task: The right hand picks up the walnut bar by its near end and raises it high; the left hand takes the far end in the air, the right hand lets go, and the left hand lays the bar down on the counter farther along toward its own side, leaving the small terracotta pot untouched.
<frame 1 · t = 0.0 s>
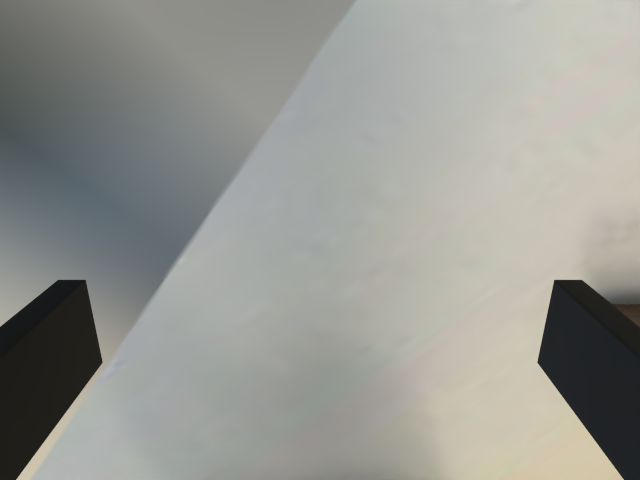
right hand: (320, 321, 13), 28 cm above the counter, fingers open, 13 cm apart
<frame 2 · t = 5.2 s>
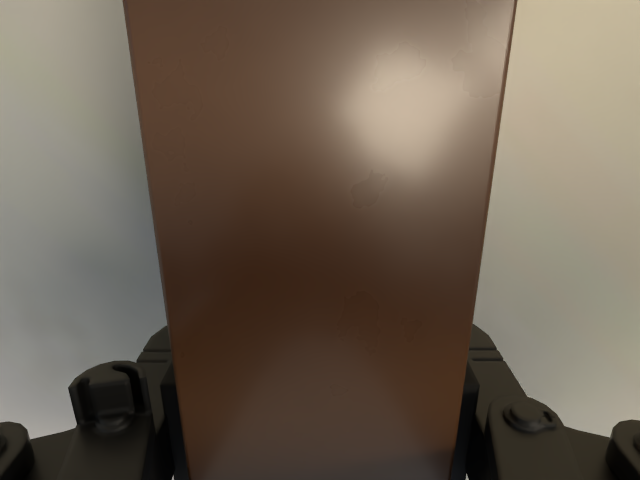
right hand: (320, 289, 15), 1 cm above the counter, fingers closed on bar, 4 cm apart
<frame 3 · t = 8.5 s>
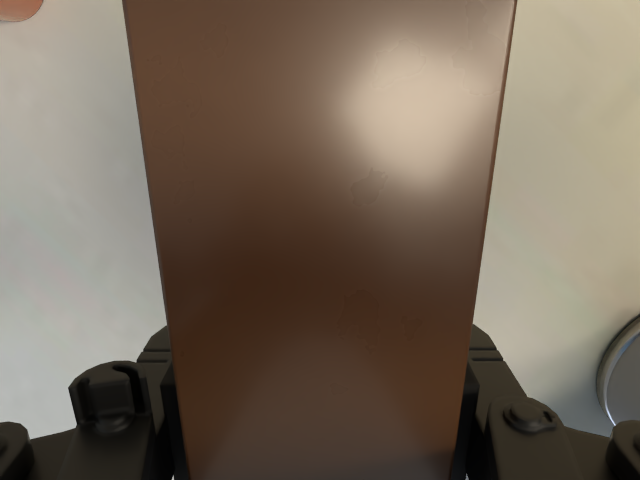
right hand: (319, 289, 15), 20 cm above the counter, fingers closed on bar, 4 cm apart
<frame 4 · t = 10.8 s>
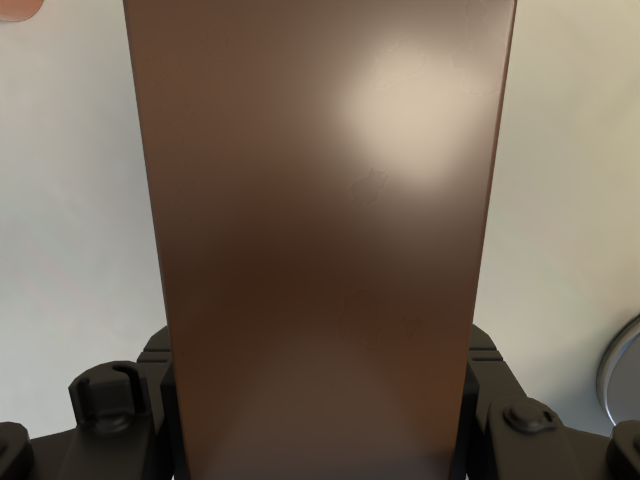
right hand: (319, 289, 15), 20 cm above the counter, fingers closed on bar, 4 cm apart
when the right hand's fingers open (20 cm above the counter, at t = 11.6 s): bar stays where it is, held by the left hand.
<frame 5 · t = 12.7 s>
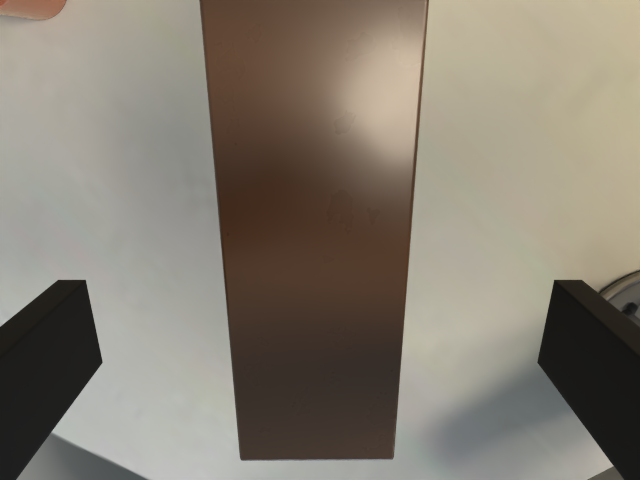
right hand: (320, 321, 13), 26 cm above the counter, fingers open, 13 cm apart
when the left hand's fingers open (5 cm above the counter, at t = 21.9 s): bar stays where it is, on the counter.
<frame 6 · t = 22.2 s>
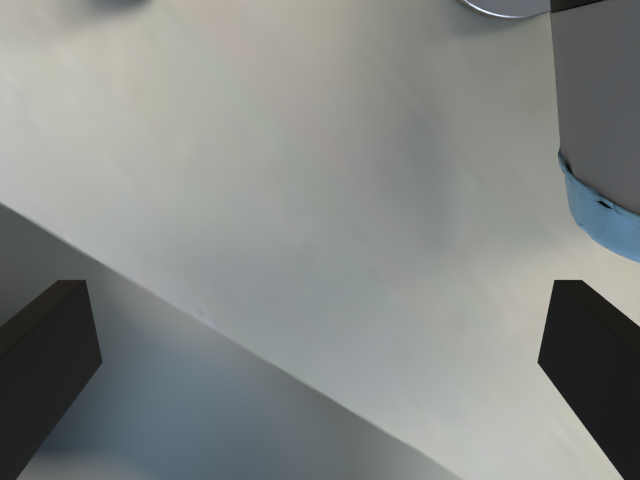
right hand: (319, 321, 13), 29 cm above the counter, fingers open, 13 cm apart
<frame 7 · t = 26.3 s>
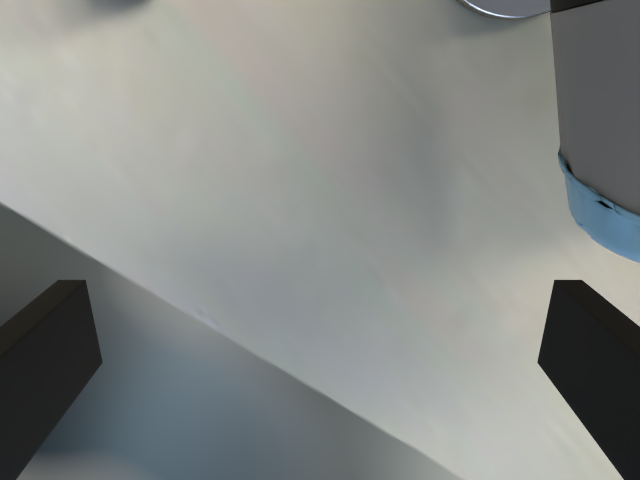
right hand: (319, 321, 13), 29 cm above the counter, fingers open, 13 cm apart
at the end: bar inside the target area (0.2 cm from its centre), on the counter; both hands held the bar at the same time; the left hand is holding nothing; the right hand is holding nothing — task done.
